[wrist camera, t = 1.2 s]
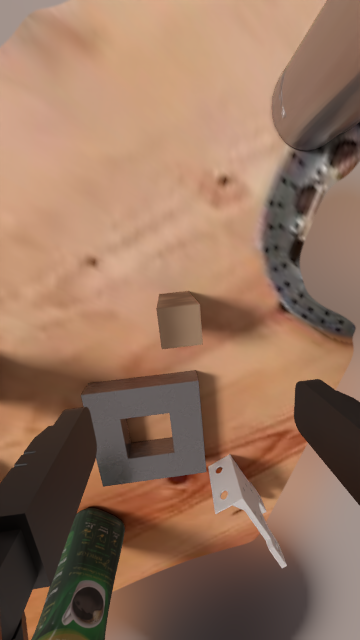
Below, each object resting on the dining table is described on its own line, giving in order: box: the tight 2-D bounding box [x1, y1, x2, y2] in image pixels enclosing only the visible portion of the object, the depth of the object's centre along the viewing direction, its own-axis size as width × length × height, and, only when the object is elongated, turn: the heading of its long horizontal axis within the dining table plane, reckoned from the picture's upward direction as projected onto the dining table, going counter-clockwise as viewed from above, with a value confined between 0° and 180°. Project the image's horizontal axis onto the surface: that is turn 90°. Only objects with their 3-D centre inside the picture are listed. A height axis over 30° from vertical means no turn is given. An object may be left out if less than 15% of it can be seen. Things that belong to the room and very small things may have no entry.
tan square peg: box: [157, 291, 203, 349], centre depth 25 cm, size 4×4×10 cm
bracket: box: [208, 454, 287, 568], centre depth 34 cm, size 11×4×10 cm, turn 33°
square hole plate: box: [81, 370, 206, 486], centre depth 33 cm, size 16×16×3 cm
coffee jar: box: [31, 508, 125, 640], centre depth 30 cm, size 10×8×19 cm
